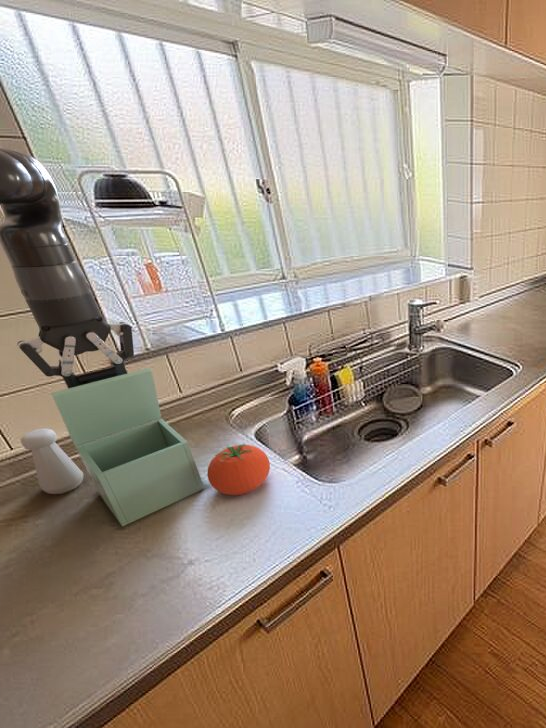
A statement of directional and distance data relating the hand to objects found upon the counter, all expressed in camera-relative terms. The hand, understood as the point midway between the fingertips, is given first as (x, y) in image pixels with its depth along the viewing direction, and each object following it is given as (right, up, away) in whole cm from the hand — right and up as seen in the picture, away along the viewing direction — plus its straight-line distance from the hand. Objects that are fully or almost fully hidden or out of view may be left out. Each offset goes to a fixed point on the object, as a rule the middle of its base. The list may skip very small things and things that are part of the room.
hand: (101, 387), depth 74 cm
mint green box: (+4, -21, +7) cm, 22 cm away
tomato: (+19, -20, +10) cm, 30 cm away
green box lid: (+2, -4, 0) cm, 4 cm away
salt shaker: (-13, -20, +7) cm, 25 cm away
